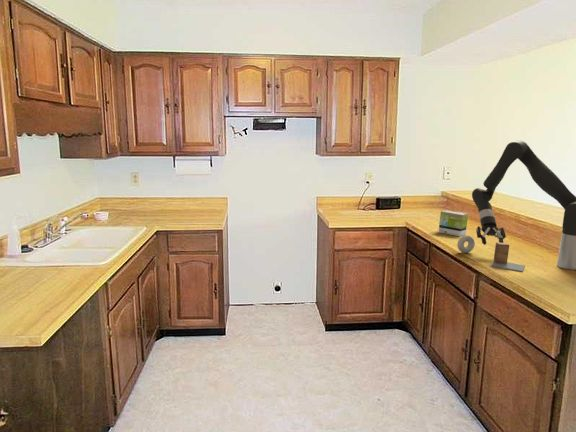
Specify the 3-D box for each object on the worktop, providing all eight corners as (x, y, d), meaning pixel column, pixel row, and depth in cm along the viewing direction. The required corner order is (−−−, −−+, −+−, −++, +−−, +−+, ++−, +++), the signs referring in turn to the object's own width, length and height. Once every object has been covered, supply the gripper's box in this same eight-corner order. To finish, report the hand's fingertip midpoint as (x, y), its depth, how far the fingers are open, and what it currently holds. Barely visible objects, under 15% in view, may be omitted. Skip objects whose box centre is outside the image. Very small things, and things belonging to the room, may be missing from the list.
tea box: (437, 232, 291) (440, 211, 289) (444, 230, 299) (446, 209, 296) (460, 236, 281) (462, 214, 279) (466, 234, 289) (468, 212, 286)
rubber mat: (524, 266, 218) (525, 265, 217) (522, 272, 208) (522, 270, 208) (494, 261, 225) (494, 260, 225) (490, 266, 215) (490, 265, 215)
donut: (471, 252, 242) (473, 234, 241) (475, 253, 239) (477, 236, 237) (455, 252, 240) (457, 234, 239) (458, 254, 237) (460, 236, 235)
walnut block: (493, 261, 223) (495, 242, 221) (503, 261, 222) (505, 242, 221) (496, 263, 219) (499, 244, 217) (506, 264, 218) (509, 244, 217)
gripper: (476, 214, 235) (482, 240, 226) (503, 216, 235) (510, 241, 225) (471, 222, 241) (477, 247, 232) (497, 223, 241) (504, 248, 232)
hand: (493, 244), depth 229 cm, fingers open, 8 cm apart
